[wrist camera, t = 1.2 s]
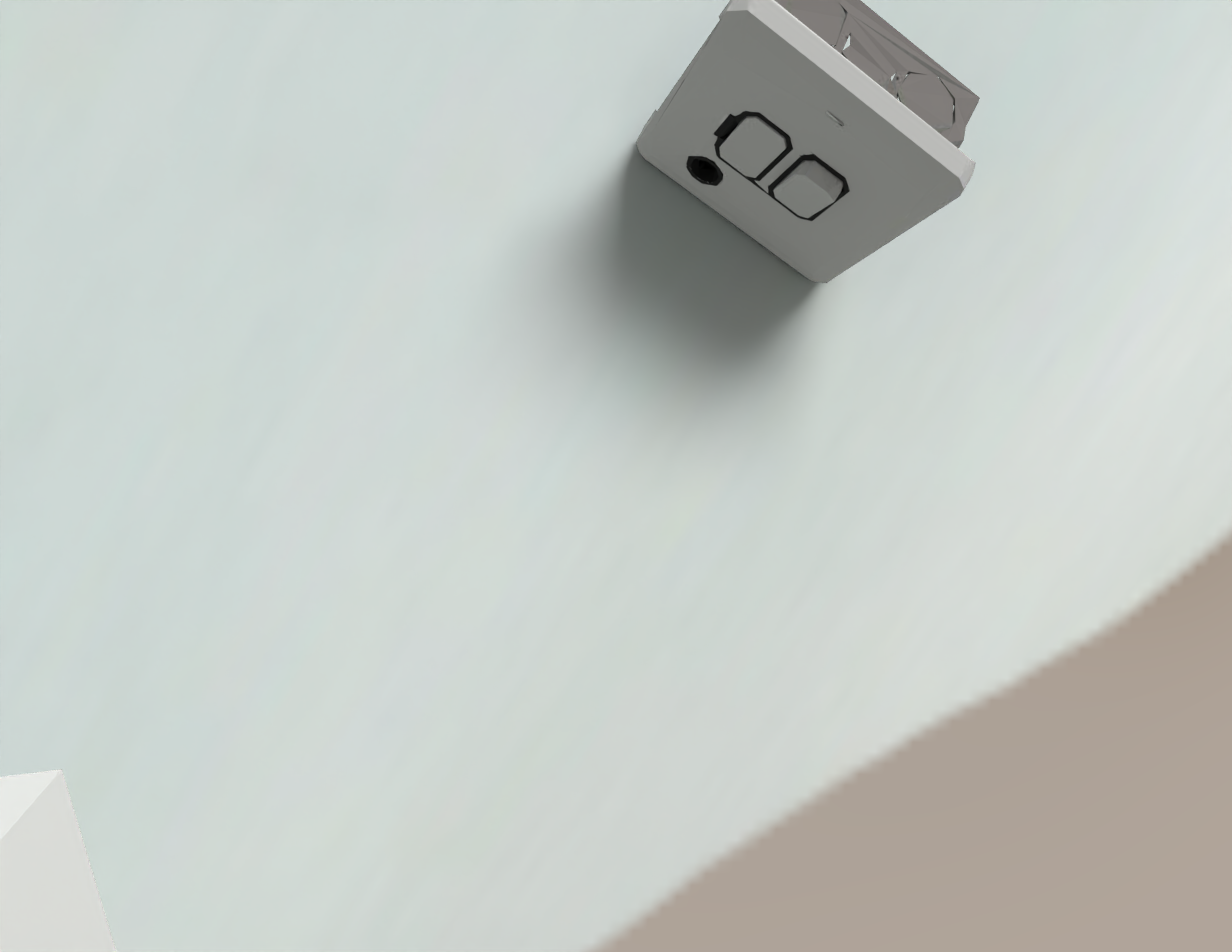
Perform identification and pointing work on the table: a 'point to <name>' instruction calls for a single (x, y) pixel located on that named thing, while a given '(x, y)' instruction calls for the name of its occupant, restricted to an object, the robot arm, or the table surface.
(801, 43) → the electrical switch
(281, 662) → the table surface
